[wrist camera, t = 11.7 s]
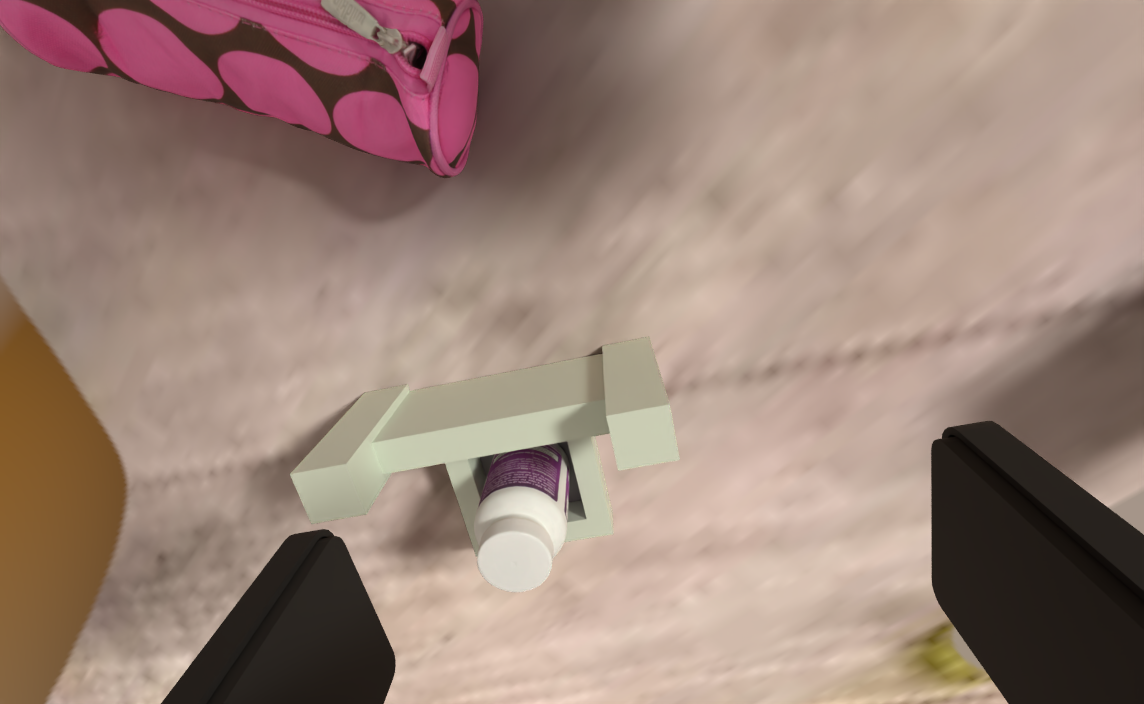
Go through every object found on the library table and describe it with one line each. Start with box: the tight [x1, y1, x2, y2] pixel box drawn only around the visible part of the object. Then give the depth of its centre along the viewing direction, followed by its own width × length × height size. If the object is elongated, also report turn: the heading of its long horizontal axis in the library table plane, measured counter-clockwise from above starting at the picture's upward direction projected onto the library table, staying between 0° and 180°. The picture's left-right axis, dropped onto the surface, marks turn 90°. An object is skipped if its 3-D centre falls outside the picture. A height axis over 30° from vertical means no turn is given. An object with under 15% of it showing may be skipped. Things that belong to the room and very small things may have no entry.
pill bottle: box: [474, 443, 570, 592], centre depth 35 cm, size 5×5×10 cm
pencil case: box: [0, 0, 483, 178], centre depth 26 cm, size 21×10×10 cm, turn 77°
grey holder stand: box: [290, 337, 680, 557], centre depth 34 cm, size 12×19×10 cm, turn 102°
